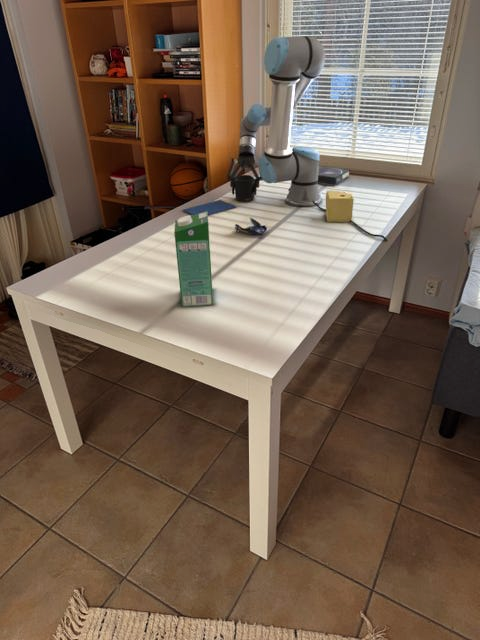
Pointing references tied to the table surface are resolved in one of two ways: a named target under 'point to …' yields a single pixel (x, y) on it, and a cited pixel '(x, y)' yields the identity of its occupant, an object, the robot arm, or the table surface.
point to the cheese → (339, 206)
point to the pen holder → (244, 188)
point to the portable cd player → (331, 175)
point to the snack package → (252, 228)
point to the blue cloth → (210, 208)
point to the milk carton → (194, 259)
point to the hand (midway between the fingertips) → (244, 193)
